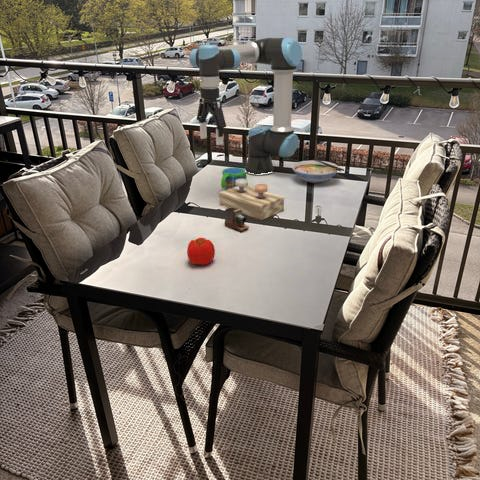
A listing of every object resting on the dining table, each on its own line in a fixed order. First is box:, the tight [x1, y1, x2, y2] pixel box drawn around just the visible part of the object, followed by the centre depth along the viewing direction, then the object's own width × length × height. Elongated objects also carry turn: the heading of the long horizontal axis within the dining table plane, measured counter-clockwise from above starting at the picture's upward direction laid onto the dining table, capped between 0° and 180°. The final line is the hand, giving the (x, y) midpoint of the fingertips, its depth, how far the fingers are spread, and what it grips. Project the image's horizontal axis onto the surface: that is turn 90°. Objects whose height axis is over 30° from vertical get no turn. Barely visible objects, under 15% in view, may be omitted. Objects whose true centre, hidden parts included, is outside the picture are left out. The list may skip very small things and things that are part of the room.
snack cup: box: [220, 167, 248, 190], centre depth 212 cm, size 16×10×10 cm
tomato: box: [186, 237, 216, 266], centre depth 150 cm, size 9×9×8 cm
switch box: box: [219, 185, 285, 221], centre depth 194 cm, size 14×24×6 cm, turn 46°
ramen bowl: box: [291, 158, 345, 184], centre depth 226 cm, size 25×23×8 cm
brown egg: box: [254, 183, 268, 199], centre depth 189 cm, size 5×5×6 cm
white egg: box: [235, 179, 249, 193], centre depth 196 cm, size 5×5×6 cm
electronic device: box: [224, 208, 250, 233], centre depth 175 cm, size 4×10×8 cm, turn 44°
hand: (211, 141), depth 190 cm, fingers open, 13 cm apart
